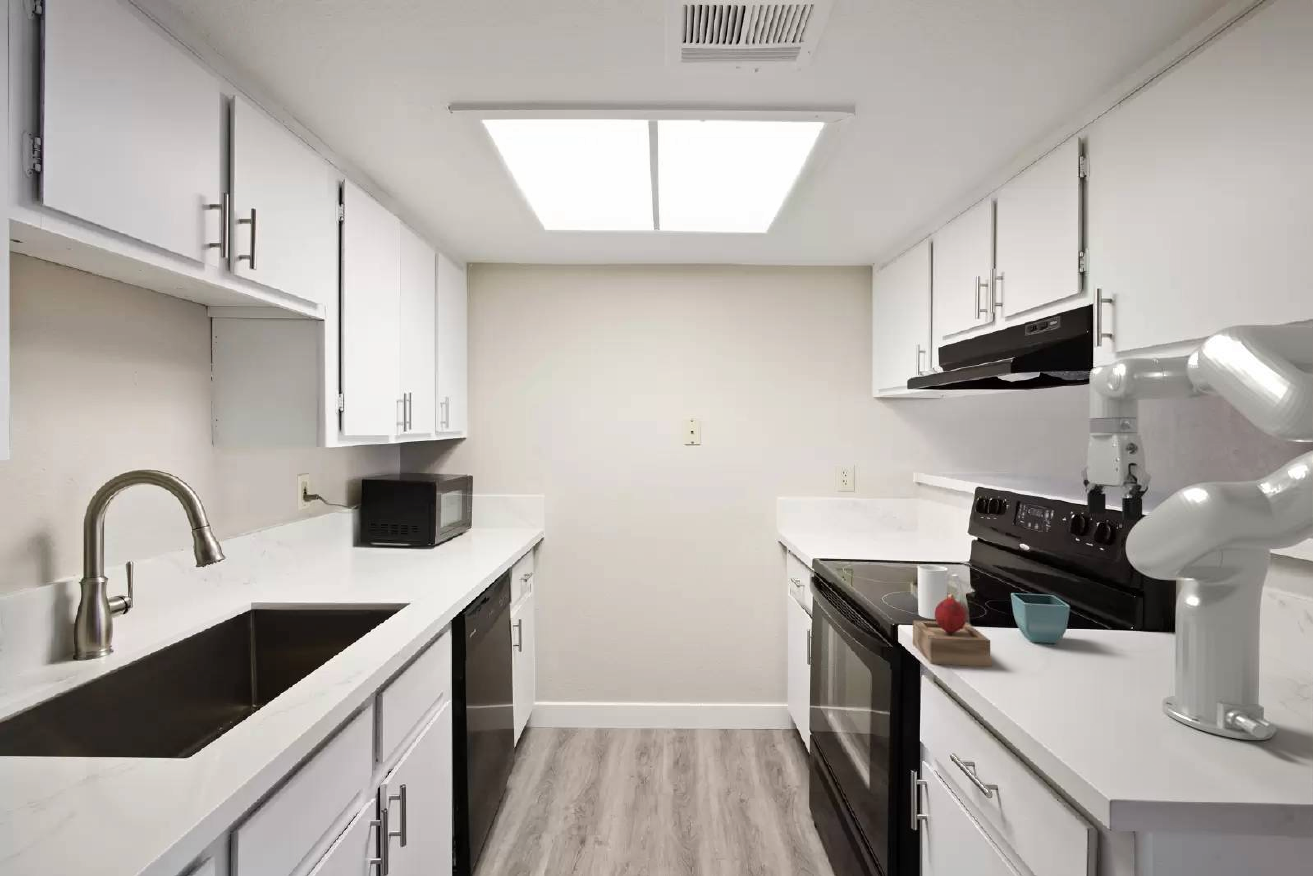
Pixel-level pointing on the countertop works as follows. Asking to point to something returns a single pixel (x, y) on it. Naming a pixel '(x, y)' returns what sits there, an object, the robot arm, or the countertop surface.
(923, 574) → the mug
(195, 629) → the countertop surface
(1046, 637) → the flower pot
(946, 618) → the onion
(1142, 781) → the countertop surface
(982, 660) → the open walnut box
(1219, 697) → the robot arm
